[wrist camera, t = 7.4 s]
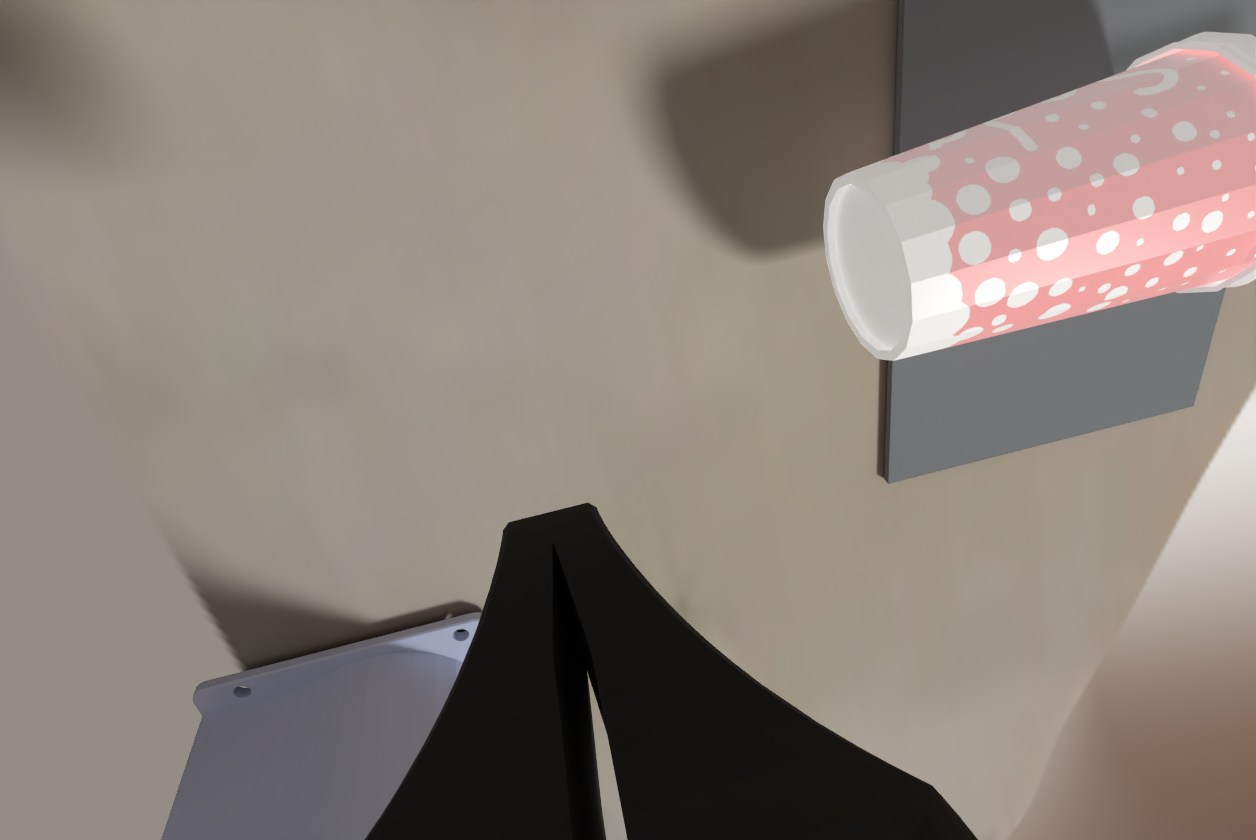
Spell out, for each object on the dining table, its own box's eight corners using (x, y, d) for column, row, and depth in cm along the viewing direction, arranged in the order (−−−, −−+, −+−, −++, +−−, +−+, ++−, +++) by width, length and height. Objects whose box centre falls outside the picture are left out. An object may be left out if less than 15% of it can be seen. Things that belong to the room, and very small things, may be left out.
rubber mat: (884, 478, 26) (888, 483, 26) (902, -125, 17) (908, -126, 17) (1186, 402, 27) (1193, 406, 27) (1347, -201, 18) (1359, -204, 18)
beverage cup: (792, 194, 22) (1245, 59, 22) (860, 401, 21) (1317, 258, 22) (868, 87, 15) (1491, -95, 16) (964, 377, 15) (1593, 178, 16)
